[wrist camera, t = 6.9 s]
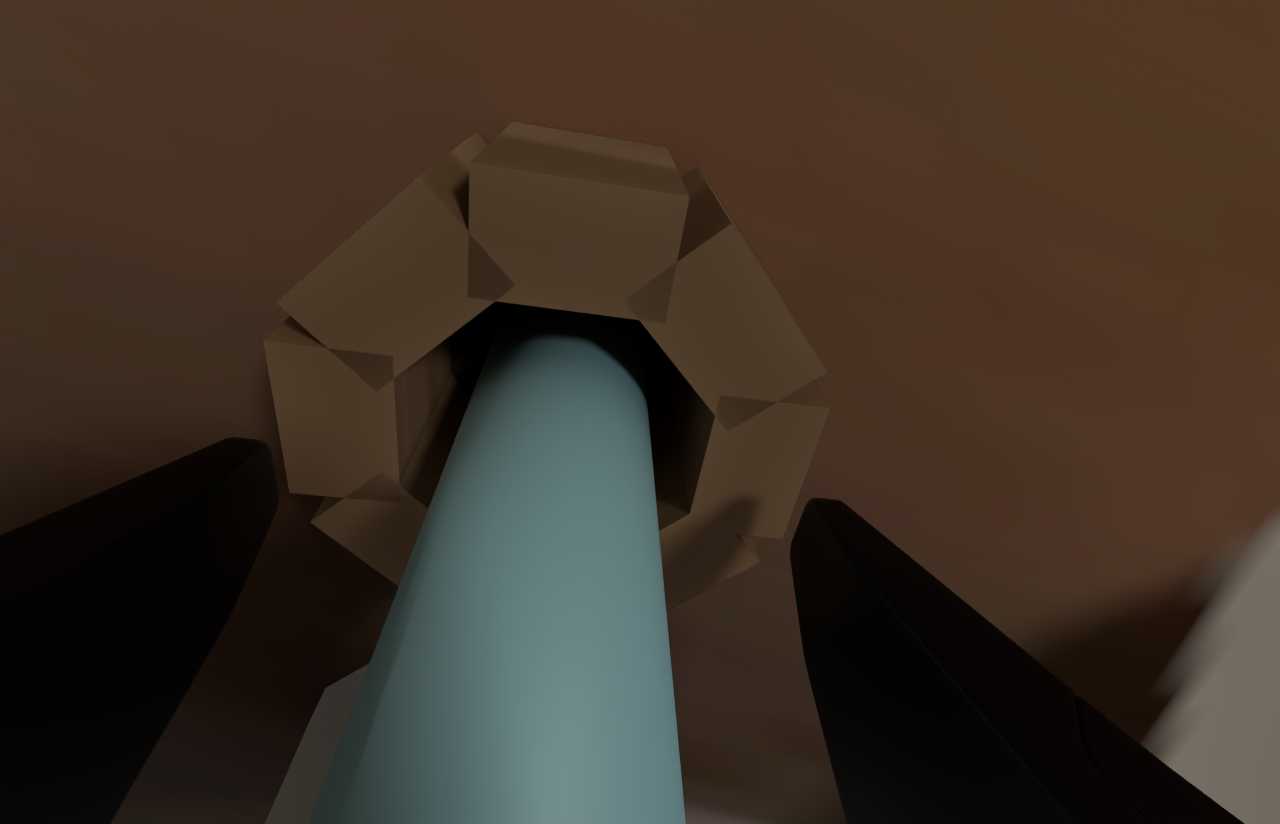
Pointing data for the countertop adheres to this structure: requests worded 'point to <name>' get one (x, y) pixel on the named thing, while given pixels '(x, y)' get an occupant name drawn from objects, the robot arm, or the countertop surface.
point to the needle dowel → (527, 608)
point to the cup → (316, 752)
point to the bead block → (558, 279)
